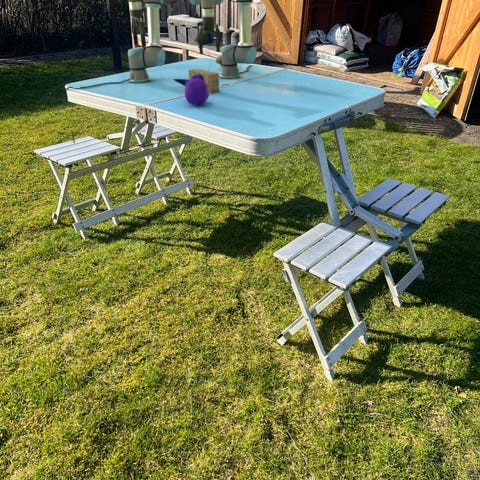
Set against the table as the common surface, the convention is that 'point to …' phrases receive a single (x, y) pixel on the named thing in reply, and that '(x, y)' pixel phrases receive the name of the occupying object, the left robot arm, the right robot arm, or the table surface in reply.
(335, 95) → the table surface
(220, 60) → the teapot
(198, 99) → the toy
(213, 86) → the box
